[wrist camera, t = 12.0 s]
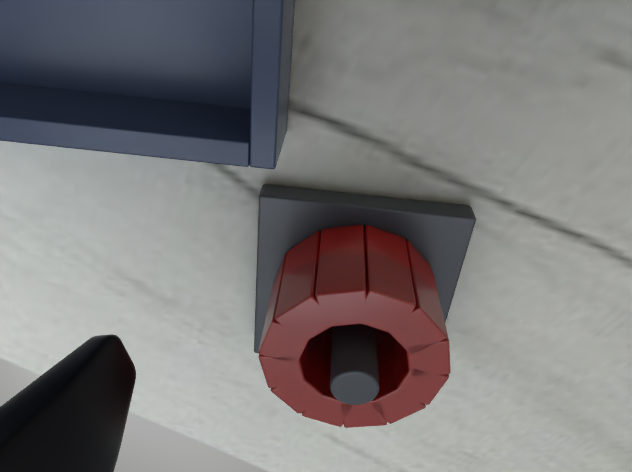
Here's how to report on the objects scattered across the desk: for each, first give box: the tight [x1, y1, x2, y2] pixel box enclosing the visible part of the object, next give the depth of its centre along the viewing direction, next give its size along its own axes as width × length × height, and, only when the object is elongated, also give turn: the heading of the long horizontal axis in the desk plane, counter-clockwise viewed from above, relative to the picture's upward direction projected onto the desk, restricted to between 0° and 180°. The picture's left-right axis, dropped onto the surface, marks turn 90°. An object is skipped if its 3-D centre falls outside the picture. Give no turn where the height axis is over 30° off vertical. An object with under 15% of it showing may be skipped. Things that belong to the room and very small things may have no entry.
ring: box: [258, 224, 450, 428], centre depth 19 cm, size 7×7×4 cm
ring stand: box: [254, 185, 476, 405], centre depth 19 cm, size 8×8×6 cm
